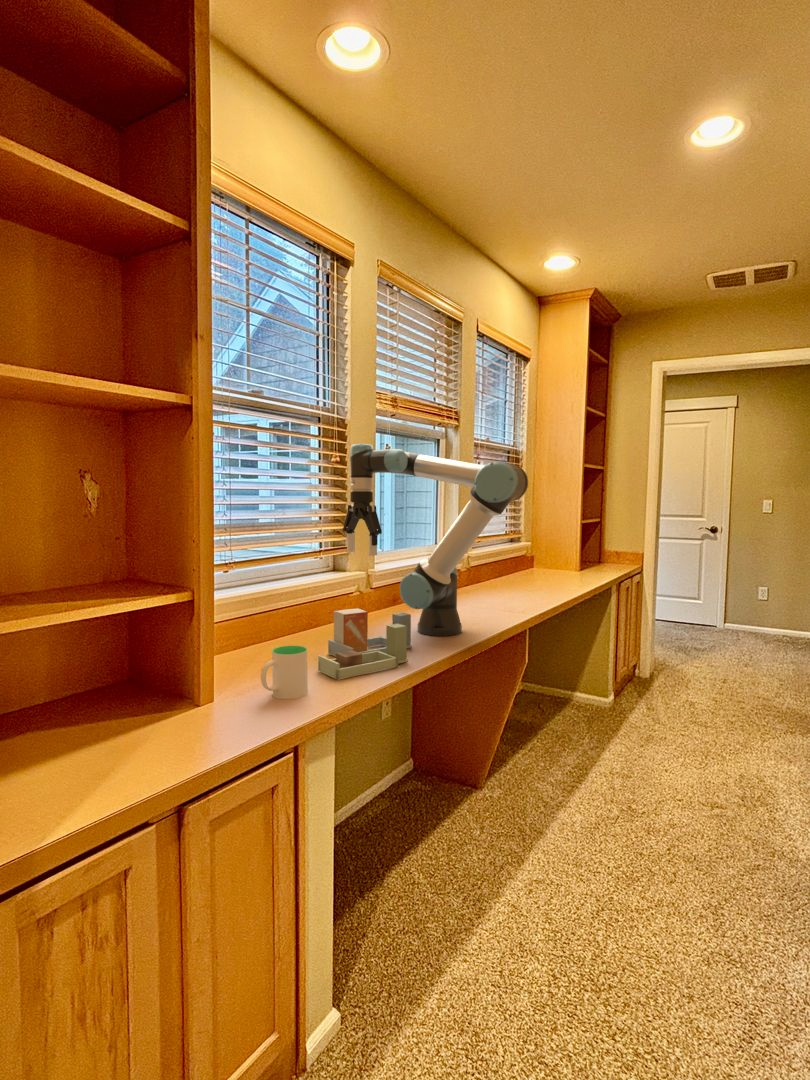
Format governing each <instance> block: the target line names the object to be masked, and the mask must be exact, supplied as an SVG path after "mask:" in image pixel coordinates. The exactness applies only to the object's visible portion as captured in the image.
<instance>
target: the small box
mask: <svg viewBox="0 0 810 1080" xmlns="http://www.w3.org/2000/svg"><path fill="white" fill-rule="evenodd" d="M368 614H369V611H366V610H363V609H361V608H359V607H357V608H349V609H348V608H347V609H340V610H334V611H333V641H336V642H338V643H341V644H344V645H346V646H349V647H351V648H354V651H355V652H363V651H368V647H367V639H368V626H369V625H368V619H369V617H368Z"/></svg>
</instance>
